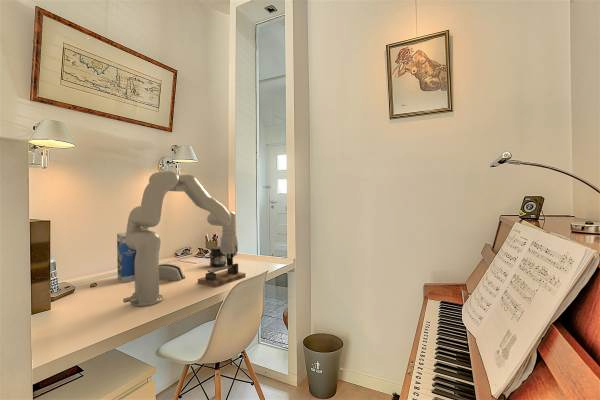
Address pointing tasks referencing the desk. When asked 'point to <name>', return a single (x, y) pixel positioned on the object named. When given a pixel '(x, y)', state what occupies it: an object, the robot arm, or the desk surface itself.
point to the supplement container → (217, 257)
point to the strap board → (222, 277)
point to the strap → (220, 268)
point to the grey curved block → (170, 272)
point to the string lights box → (125, 260)
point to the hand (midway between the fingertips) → (229, 264)
